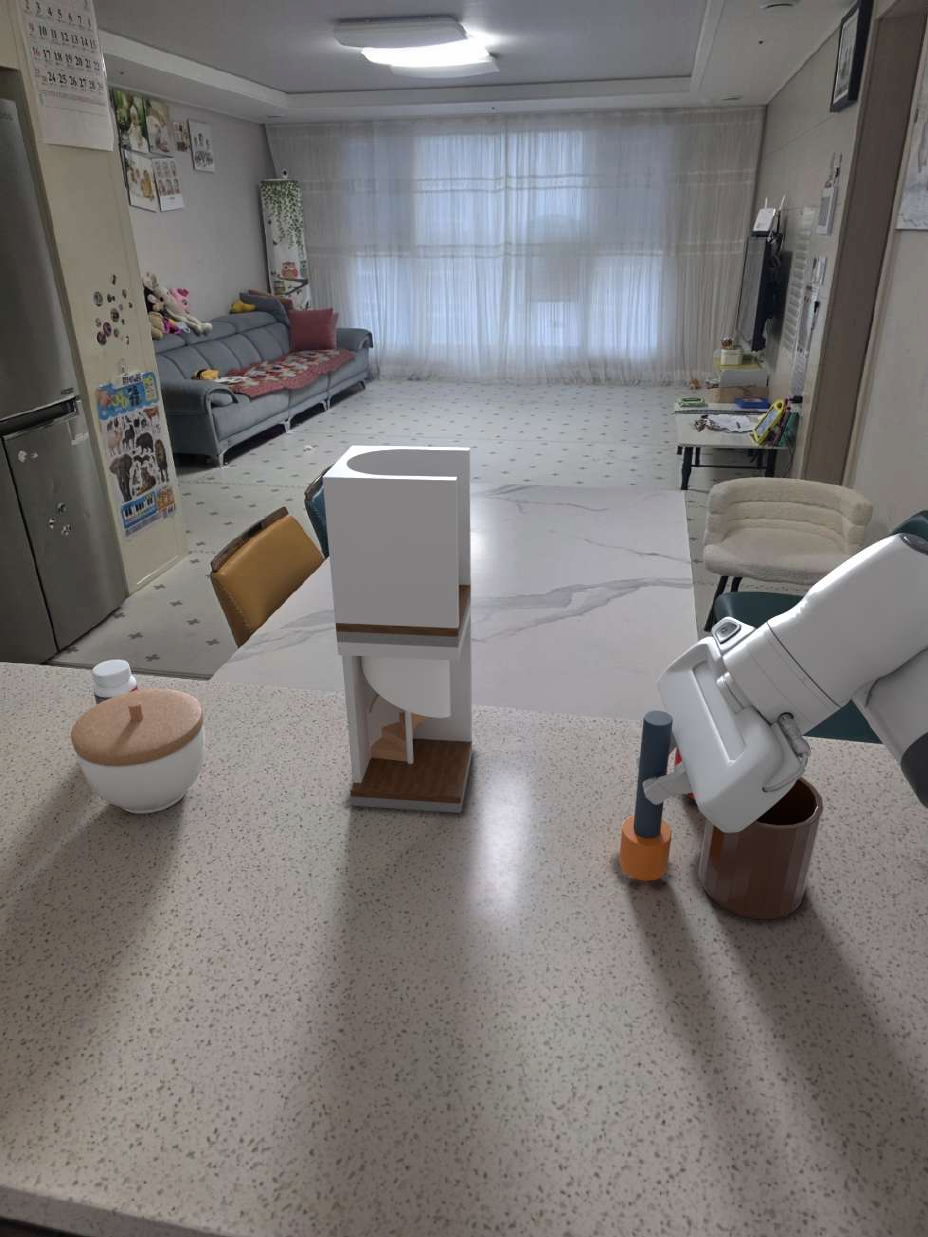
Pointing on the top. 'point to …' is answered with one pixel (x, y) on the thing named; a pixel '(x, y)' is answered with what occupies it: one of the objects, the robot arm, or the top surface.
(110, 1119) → the top surface
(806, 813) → the scrub cup
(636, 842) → the peg in orange base
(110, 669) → the pill bottle
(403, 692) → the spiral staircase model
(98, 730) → the lidded bowl
